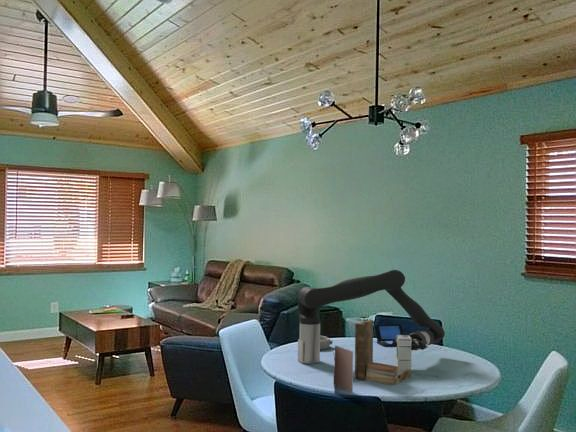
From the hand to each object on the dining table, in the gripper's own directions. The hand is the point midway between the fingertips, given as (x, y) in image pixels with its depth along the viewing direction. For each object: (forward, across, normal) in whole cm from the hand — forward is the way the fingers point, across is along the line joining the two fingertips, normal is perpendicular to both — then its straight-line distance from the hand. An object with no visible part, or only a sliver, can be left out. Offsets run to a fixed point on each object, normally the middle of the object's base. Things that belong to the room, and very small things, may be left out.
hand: (402, 346), depth 228 cm
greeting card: (+38, -6, +11) cm, 40 cm away
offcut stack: (+18, 0, +10) cm, 21 cm away
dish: (-14, -53, +11) cm, 56 cm away
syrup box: (-2, 0, +11) cm, 11 cm away
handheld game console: (-47, -28, +11) cm, 56 cm away
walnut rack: (+14, -2, +10) cm, 18 cm away
